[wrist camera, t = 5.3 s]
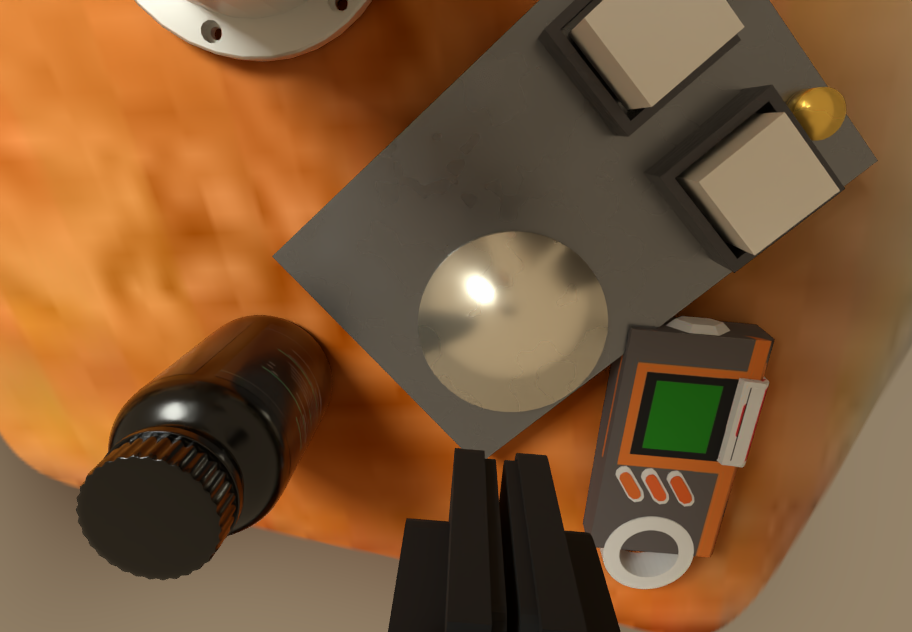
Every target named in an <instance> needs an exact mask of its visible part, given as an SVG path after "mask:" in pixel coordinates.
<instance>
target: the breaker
mask: <svg viewBox="0 0 912 632" xmlns="http://www.w3.org/2000/svg"><path fill="white" fill-rule="evenodd" d="M743 28H744V25H743V24H742V22H741V21H740V20H739V18H738V17H737V15H736V14H735V12H734V11H733V10H732V8H731V7H730V5H729V4H728V2H727V1H726V0H603V1H602V2H601V3H600V4H599V5H597V6H596V7H595V8H594V9H593V10H592V11H591V12H590V13H589V14H588V15H587V16H586V17H585V18H584V19H583V20H582V21H581V22H580V23H579V24H578V25H577V26H576V27H575V28H574V29H573V30H572V31H571V32H570V33H569V34H568V35H569V36H570V37H571V38H572V40H573V41H574V42H575V44H576V45H577V46H578V47H579V49H580V50H581V51H582V53H583V54H584V55H585V57H586V58H587V59H588V60H589V62H590V63H591V64H592V66H593V67H594V68H595V70H596V71H597V72H598V73H599V75H600V76H601V77H602V79H603V80H604V81H605V83H606V84H607V85H608V86H609V88H610V89H611V90H612V92H613V93H614V94H615V95H616V97H617V98H618V99H619V101H620V102H621V103H622V105H623V106H624V107H625V108H626V110H629V109H638V108H646V107H652V106H654V105H655V104H656V103H657V102H658V101H659V100H660V99H662V98H663V97H664V96H665V95H666V94H667V93H669V92H670V91H671V90H672V89H673V88H674V87H676V86H677V85H678V84H679V83H680V82H681V81H683V80H684V79H685V78H686V77H687V76H688V75H689V74H691V73H692V72H693V71H694V70H695V69H696V68H698V67H699V66H700V65H701V64H702V63H703V62H705V61H706V60H707V59H708V58H709V57H710V56H711V55H713V54H714V53H715V52H716V51H717V50H718V49H720V48H721V47H722V46H723V45H724V44H725V43H727V42H728V41H729V40H730V39H731V38H732V37H734V36H735V35H736V34H737V33H738V32H739V31H740V30H742V29H743Z"/></svg>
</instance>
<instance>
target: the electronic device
mask: <svg viewBox="0 0 912 632" xmlns="http://www.w3.org/2000/svg"><path fill="white" fill-rule="evenodd" d="M774 340H775V339H773V338H772V337H771V336H770V335H769V334H767V333H766V332H765V331H764V330H763V329H761V328H760V327H759V326H758V325H756V324H744V323H733V322H722V321H717V320H714V319H710V318H699V317H687V316H681V317H678V318H676V317H672V318H670V319H669V320H668V321H666V322H665V323H664V324H662V325H661V326H660V327H658V328H646V327H635V326H630V329H629V334H628V340H627V345H626V351H625V353H624V354H623V355H622V356H620V357H619V358H618V359H616V360H615V361H614V362H612V363H611V369H610V374H609V379H608V384H607V390H606V395H605V400H604V405H603V411H602V417H601V422H600V428H599V434H598V440H597V445H596V451H595V457H594V463H593V468H592V474H591V480H590V486H589V491H588V497H587V503H586V509H585V514H584V520H583V525H584V529H585V532H587V533H590V534H591V535H592V537H593V540H594V543H595V546H596V547H598V548H600V551H601V554H602V558H603V562H604V565H605V567H606V569H607V571H608V572H609V574H610V575H611V576H612V577H613V578H614V579H615V580H616V581H618V582H620V583H621V584H623V585H626V586H629V587H632V588H637V589H652V588H658V587H662V586H665V585H667V584H669V583H671V582H673V581H675V580H676V579H678V578H679V577H681V576H682V575H683V574H684V573H685V572H686V570H687V569H688V567H689V566H690V564H691V562H692V559H693V556H700V557H710V556H711V555H712V554H713V550H714V547H715V544H716V540H717V537H718V533H719V530H720V526H721V523H722V519H723V516H724V512H725V509H726V505H727V502H728V499H729V495H730V492H731V488H732V485H733V481H734V478H735V474H736V471H737V467H742V468H743V467H744V465H745V464H746V460H747V457H748V453H749V450H750V447H751V443H752V440H753V436H754V433H755V430H756V426H757V423H758V419H759V416H760V413H761V409H762V406H763V402H764V399H765V396H766V392H767V389H768V385H769V381H768V380H767V379H766V378H765V377H764V374H765V371H766V367H767V364H768V360H769V357H770V353H771V350H772V347H773V343H774ZM626 550H632V551H643V552H642V553H634V552H629V551H626Z"/></svg>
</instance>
